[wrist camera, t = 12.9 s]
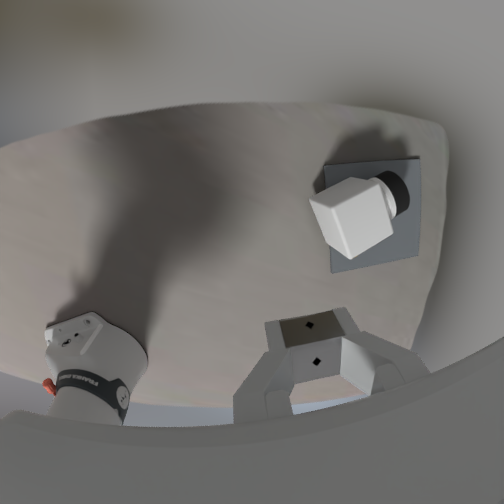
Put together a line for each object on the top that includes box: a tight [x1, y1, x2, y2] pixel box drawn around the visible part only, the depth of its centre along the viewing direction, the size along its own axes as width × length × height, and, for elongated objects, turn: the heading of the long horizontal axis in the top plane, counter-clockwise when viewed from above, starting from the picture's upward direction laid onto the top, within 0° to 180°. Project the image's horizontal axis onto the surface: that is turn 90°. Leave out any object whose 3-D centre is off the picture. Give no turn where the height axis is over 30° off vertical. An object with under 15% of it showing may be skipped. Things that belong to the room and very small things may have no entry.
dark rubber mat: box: [323, 159, 421, 273], centre depth 39 cm, size 16×16×1 cm
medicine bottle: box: [309, 170, 410, 259], centre depth 35 cm, size 7×7×12 cm
